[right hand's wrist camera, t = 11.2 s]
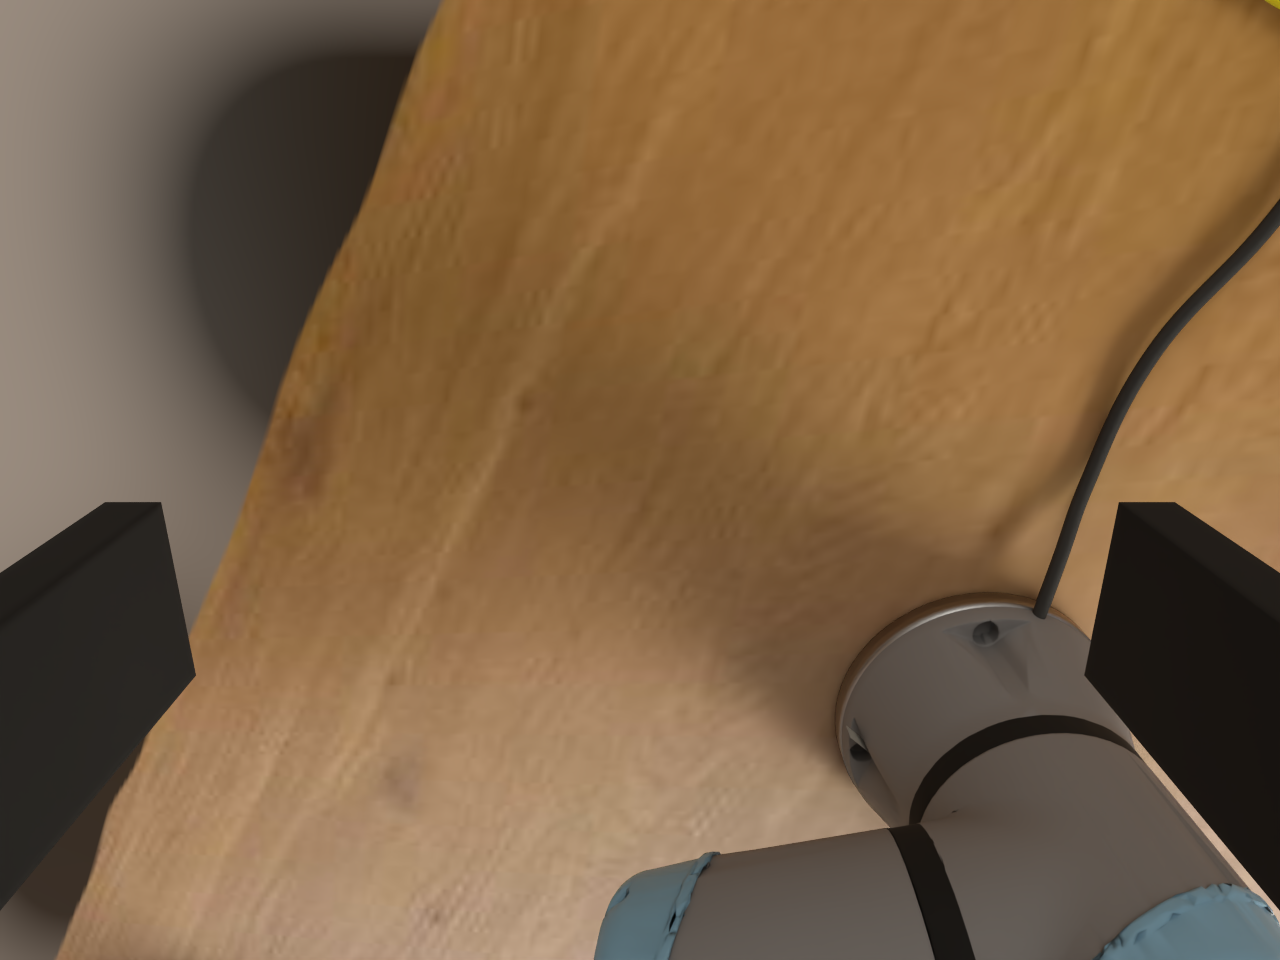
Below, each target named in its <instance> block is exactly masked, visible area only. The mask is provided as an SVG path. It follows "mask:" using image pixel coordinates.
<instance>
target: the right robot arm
mask: <svg viewBox="0 0 1280 960" xmlns="http://www.w3.org/2000/svg"><path fill="white" fill-rule="evenodd" d="M1279 226H1280V199H1279V201H1278V202H1277V203H1276V204H1275V206H1274V207H1273V208H1272V209H1271V211H1270V212H1269V213H1268V215H1267V216H1266V217H1265V218H1264V219H1263V221H1262V222H1261V223H1260V224H1259V226H1258V227H1257V228H1256V229H1255V230H1254V231H1253V233H1252V234H1251V235H1250V236H1249V237H1248V238H1247V239H1246V241H1245V242H1244V243H1243V244H1242V245H1241V246H1240V247H1239V248H1238V249H1237V250H1236V251H1235V252H1234V254H1233V255H1232V256H1231V257H1230V258H1229V259H1228V260H1227V261H1226V262H1225V263H1224V264H1223V265H1222V266H1221V267H1220V268H1219V269H1218V270H1217V271H1216V272H1215V273H1214V274H1213V275H1212V276H1211V277H1210V278H1209V279H1208V280H1207V281H1206V282H1205V283H1204V284H1203V285H1202V286H1201V287H1200V288H1199V289H1198V290H1197V291H1196V292H1195V293H1194V294H1193V295H1192V296H1191V297H1190V298H1189V299H1188V300H1187V301H1186V302H1185V303H1184V304H1183V305H1182V306H1181V307H1180V308H1179V310H1178V311H1177V312H1176V313H1175V314H1174V315H1173V316H1172V317H1171V319H1170V320H1169V321H1168V322H1167V323H1166V324H1165V326H1164V327H1163V328H1162V329H1161V331H1160V332H1159V333H1158V335H1157V336H1156V337H1155V338H1154V340H1153V341H1152V343H1151V344H1150V345H1149V347H1148V348H1147V350H1146V351H1145V352H1144V354H1143V355H1142V357H1141V358H1140V360H1139V361H1138V363H1137V364H1136V366H1135V368H1134V369H1133V371H1132V372H1131V374H1130V376H1129V377H1128V379H1127V381H1126V382H1125V384H1124V386H1123V387H1122V389H1121V391H1120V393H1119V395H1118V397H1117V398H1116V400H1115V402H1114V404H1113V406H1112V408H1111V410H1110V412H1109V414H1108V416H1107V419H1106V421H1105V423H1104V425H1103V427H1102V429H1101V432H1100V434H1099V436H1098V439H1097V441H1096V443H1095V446H1094V448H1093V451H1092V453H1091V455H1090V458H1089V460H1088V463H1087V465H1086V467H1085V470H1084V472H1083V475H1082V477H1081V479H1080V482H1079V484H1078V487H1077V489H1076V491H1075V494H1074V496H1073V499H1072V501H1071V504H1070V507H1069V510H1068V512H1067V515H1066V518H1065V521H1064V524H1063V527H1062V530H1061V533H1060V537H1059V540H1058V542H1057V545H1056V548H1055V551H1054V554H1053V557H1052V560H1051V562H1050V565H1049V568H1048V571H1047V573H1046V576H1045V579H1044V581H1043V584H1042V587H1041V590H1040V592H1039V595H1038V598H1037V600H1033V599H1029V598H1026V597H1022V596H1017V595H1012V594H1004V593H969V594H963V595H957V596H952V597H948V598H944V599H940V600H937V601H934V602H931V603H928V604H926V605H924V606H921V607H919V608H917V609H914V610H913V611H911V612H909V613H907V614H905V615H903V616H902V617H900V618H898V619H897V620H895V621H894V622H892V623H891V624H889V625H888V626H887V627H886V628H884V629H883V630H882V631H880V632H879V633H878V634H877V635H876V636H875V637H874V638H873V639H872V640H871V641H870V642H869V643H868V644H867V645H866V646H865V647H864V648H863V650H862V651H861V652H860V654H859V655H858V656H857V658H856V659H855V660H854V662H853V664H852V665H851V667H850V668H849V670H848V672H847V674H846V676H845V678H844V681H843V683H842V686H841V689H840V692H839V695H838V700H837V704H836V712H835V728H836V737H837V741H838V745H839V748H840V751H841V755H842V758H843V761H844V764H845V766H846V769H847V772H848V774H849V776H850V778H851V780H852V782H853V783H854V785H855V786H856V788H857V789H858V791H859V792H860V794H861V795H862V797H863V798H864V800H865V801H866V802H867V803H868V804H869V805H870V807H871V808H872V809H873V810H874V811H875V812H876V813H877V814H878V815H879V816H880V817H881V818H882V819H883V820H884V821H885V822H886V823H887V825H888V826H889V827H890V828H883V829H877V830H871V831H865V832H859V833H853V834H847V835H841V836H835V837H828V838H822V839H816V840H810V841H804V842H798V843H792V844H786V845H780V846H774V847H768V848H762V849H756V850H749V851H742V852H735V853H728V854H720V852H709V853H705V854H703V855H702V856H701V857H700V858H699V859H695V860H691V861H686V862H682V863H678V864H673V865H669V866H665V867H660V868H656V869H651V870H646V871H643V872H640V873H638V874H636V875H634V876H632V877H631V878H630V879H628V880H627V881H626V882H625V883H623V884H622V885H621V887H620V888H619V889H618V890H617V892H616V893H615V895H614V896H613V898H612V899H611V901H610V904H609V906H608V909H607V911H606V914H605V918H604V919H603V922H602V925H601V928H600V932H599V936H598V941H597V946H596V950H595V956H594V960H1280V926H1279V922H1278V920H1277V918H1276V916H1275V915H1274V914H1273V911H1272V910H1271V908H1270V907H1269V906H1268V905H1267V903H1266V902H1265V901H1264V900H1263V899H1262V898H1261V897H1260V896H1258V895H1257V894H1255V893H1254V892H1252V891H1251V890H1250V889H1249V888H1248V886H1247V885H1246V884H1245V883H1244V882H1243V880H1242V879H1241V878H1240V877H1239V875H1238V874H1237V873H1236V872H1235V871H1234V869H1233V868H1232V867H1231V866H1230V865H1229V863H1228V862H1227V861H1226V860H1225V859H1224V857H1223V856H1222V855H1221V854H1220V852H1219V851H1218V850H1217V849H1216V848H1215V846H1214V845H1213V844H1212V843H1211V842H1210V840H1209V839H1208V838H1207V837H1206V836H1205V834H1204V833H1203V832H1202V831H1201V830H1200V828H1199V827H1198V826H1197V825H1196V823H1195V822H1194V821H1193V820H1192V819H1191V817H1190V816H1189V815H1188V814H1187V813H1186V811H1185V810H1184V809H1183V808H1182V807H1181V805H1180V804H1179V803H1178V802H1177V800H1176V799H1175V798H1174V797H1173V796H1172V794H1171V793H1170V792H1169V791H1168V790H1167V788H1166V787H1165V786H1164V785H1163V784H1162V782H1161V781H1160V780H1159V779H1158V777H1157V776H1156V775H1155V774H1154V773H1153V771H1152V770H1151V769H1150V768H1149V767H1148V766H1147V765H1146V763H1145V762H1144V761H1143V760H1142V758H1141V757H1140V756H1139V755H1138V753H1137V752H1136V751H1135V748H1134V745H1133V741H1132V737H1131V734H1130V731H1131V732H1132V734H1133V735H1134V736H1135V737H1136V738H1137V740H1138V741H1139V742H1140V743H1141V744H1142V746H1143V747H1144V748H1145V749H1146V750H1147V752H1148V753H1149V754H1150V755H1151V756H1152V758H1153V759H1154V760H1155V761H1156V762H1157V764H1158V765H1159V766H1160V767H1161V768H1162V770H1163V771H1164V772H1165V773H1166V774H1167V776H1168V777H1169V778H1170V779H1171V780H1172V782H1173V783H1174V784H1175V785H1176V786H1177V788H1178V789H1179V790H1180V791H1181V792H1182V794H1183V795H1184V796H1185V797H1186V798H1187V800H1188V801H1189V802H1190V803H1191V804H1192V806H1193V807H1194V808H1195V809H1196V810H1197V812H1198V813H1199V814H1200V815H1201V816H1202V818H1203V819H1204V820H1205V821H1206V822H1207V824H1208V825H1209V826H1210V827H1211V828H1212V830H1213V831H1214V832H1215V833H1216V834H1217V836H1218V837H1219V838H1220V839H1221V840H1222V842H1223V843H1224V844H1225V845H1226V846H1227V848H1228V849H1229V850H1230V851H1231V852H1232V854H1233V855H1234V856H1235V857H1236V858H1237V860H1238V861H1239V862H1240V863H1241V865H1242V866H1243V867H1244V868H1245V869H1246V871H1247V872H1248V873H1249V874H1250V875H1251V877H1252V878H1253V879H1254V880H1255V881H1256V883H1257V884H1258V885H1259V886H1260V887H1261V889H1262V890H1263V891H1264V892H1265V893H1266V895H1267V896H1268V897H1269V898H1270V899H1271V901H1272V902H1273V903H1274V904H1275V905H1276V907H1277V908H1278V909H1279V910H1280V573H1279V572H1278V571H1276V570H1275V569H1273V568H1272V567H1270V566H1269V565H1267V564H1266V563H1264V562H1263V561H1261V560H1260V559H1258V558H1257V557H1255V556H1254V555H1252V554H1251V553H1249V552H1248V551H1246V550H1245V549H1243V548H1242V547H1240V546H1239V545H1237V544H1236V543H1234V542H1233V541H1232V540H1230V539H1229V538H1227V537H1226V536H1224V535H1223V534H1221V533H1220V532H1218V531H1217V530H1215V529H1214V528H1212V527H1211V526H1209V525H1208V524H1206V523H1205V522H1203V521H1202V520H1200V519H1199V518H1197V517H1196V516H1194V515H1193V514H1191V513H1190V512H1189V511H1187V510H1186V509H1184V508H1183V507H1181V506H1180V505H1178V504H1177V503H1175V502H1119V505H1118V510H1117V515H1116V520H1115V524H1114V529H1113V534H1112V539H1111V544H1110V549H1109V554H1108V559H1107V564H1106V569H1105V574H1104V579H1103V584H1102V589H1101V594H1100V599H1099V604H1098V609H1097V614H1096V619H1095V624H1094V629H1093V634H1092V639H1091V640H1090V639H1089V638H1088V637H1087V636H1086V635H1085V634H1084V632H1083V631H1082V630H1081V629H1080V628H1079V627H1078V626H1077V625H1076V624H1075V623H1074V622H1073V621H1071V620H1070V619H1069V618H1068V617H1066V616H1065V615H1063V614H1062V613H1061V612H1059V611H1057V610H1055V609H1054V608H1052V607H1050V606H1051V603H1052V600H1053V598H1054V595H1055V592H1056V590H1057V587H1058V584H1059V581H1060V579H1061V576H1062V573H1063V571H1064V568H1065V565H1066V562H1067V560H1068V557H1069V554H1070V551H1071V548H1072V545H1073V542H1074V539H1075V536H1076V533H1077V530H1078V527H1079V524H1080V521H1081V518H1082V515H1083V513H1084V510H1085V507H1086V505H1087V502H1088V500H1089V497H1090V495H1091V492H1092V490H1093V488H1094V485H1095V483H1096V481H1097V478H1098V476H1099V474H1100V471H1101V469H1102V466H1103V464H1104V462H1105V459H1106V457H1107V455H1108V452H1109V450H1110V447H1111V445H1112V443H1113V441H1114V438H1115V436H1116V434H1117V432H1118V429H1119V427H1120V425H1121V423H1122V421H1123V419H1124V417H1125V415H1126V413H1127V411H1128V409H1129V407H1130V405H1131V403H1132V402H1133V400H1134V398H1135V396H1136V394H1137V393H1138V391H1139V389H1140V388H1141V386H1142V384H1143V383H1144V381H1145V379H1146V378H1147V376H1148V375H1149V373H1150V371H1151V370H1152V368H1153V367H1154V365H1155V364H1156V362H1157V361H1158V360H1159V358H1160V357H1161V355H1162V354H1163V353H1164V351H1165V350H1166V348H1167V347H1168V346H1169V344H1170V343H1171V342H1172V341H1173V339H1174V338H1175V337H1176V336H1177V334H1178V333H1179V332H1180V331H1181V330H1182V328H1183V327H1184V326H1185V325H1186V324H1187V323H1188V322H1189V321H1190V319H1191V318H1192V317H1193V316H1194V315H1195V314H1196V313H1197V312H1198V311H1199V310H1200V309H1201V308H1202V307H1203V306H1204V305H1205V304H1206V303H1207V302H1208V301H1209V300H1210V299H1211V298H1212V297H1213V296H1214V295H1215V294H1216V293H1217V292H1218V291H1219V290H1220V289H1221V288H1222V287H1223V286H1224V285H1225V284H1226V283H1227V282H1228V281H1229V280H1230V279H1231V278H1232V277H1233V276H1234V275H1235V274H1236V273H1237V272H1238V271H1239V270H1240V269H1241V268H1242V267H1243V266H1244V265H1245V264H1246V263H1247V262H1248V261H1249V260H1250V259H1251V258H1252V256H1253V255H1254V254H1255V253H1256V252H1257V251H1258V250H1259V249H1260V248H1261V247H1262V246H1263V244H1264V243H1265V242H1266V241H1267V240H1268V239H1269V238H1270V236H1271V235H1272V234H1273V233H1274V232H1275V230H1276V229H1277V228H1278V227H1279ZM195 676H196V673H195V668H194V663H193V658H192V653H191V648H190V643H189V639H188V634H187V629H186V624H185V619H184V614H183V609H182V604H181V599H180V594H179V589H178V584H177V579H176V574H175V569H174V564H173V559H172V554H171V549H170V544H169V539H168V534H167V529H166V524H165V520H164V515H163V510H162V505H161V502H105V503H103V504H102V505H100V506H99V507H97V508H96V509H94V510H93V511H91V512H90V513H89V514H87V515H86V516H84V517H83V518H81V519H80V520H78V521H77V522H75V523H74V524H72V525H71V526H69V527H68V528H66V529H65V530H63V531H62V532H60V533H59V534H57V535H56V536H54V537H53V538H52V539H50V540H48V541H47V542H46V543H44V544H43V545H41V546H40V547H38V548H37V549H35V550H34V551H32V552H31V553H29V554H28V555H26V556H25V557H23V558H22V559H20V560H19V561H17V562H16V563H14V564H13V565H11V566H10V567H8V568H7V569H6V570H4V571H3V572H1V573H0V910H1V909H2V908H3V906H4V905H5V904H6V903H7V902H8V901H9V899H10V898H11V897H12V896H13V894H14V893H15V892H16V891H17V890H18V889H19V887H20V886H21V885H22V884H23V883H24V881H25V880H26V879H27V878H28V877H29V875H30V874H31V873H32V872H33V871H34V869H35V868H36V867H37V866H38V865H39V863H40V862H41V861H42V860H43V858H44V857H45V856H46V855H47V854H48V852H49V851H50V850H51V849H52V848H53V846H54V845H55V844H56V843H57V842H58V840H59V839H60V838H61V837H62V836H63V834H64V833H65V832H66V831H67V830H68V828H69V827H70V826H71V825H72V824H73V822H74V821H75V820H76V819H77V818H78V816H79V815H80V814H81V813H82V812H83V810H84V809H85V808H86V807H87V806H88V804H89V803H90V802H91V801H92V800H93V798H94V797H95V796H96V795H97V794H98V792H99V791H100V790H101V789H102V787H103V786H104V785H105V784H106V783H107V782H108V780H109V779H110V778H111V777H112V776H113V774H114V773H115V772H116V771H117V770H118V768H119V767H120V766H121V765H122V764H123V762H124V761H125V760H126V759H127V758H128V756H129V755H130V754H131V753H132V752H133V750H134V749H135V748H136V747H137V746H138V744H139V743H140V742H141V741H142V739H143V738H144V737H145V736H146V735H147V734H148V732H149V731H150V730H151V729H152V728H153V726H154V725H155V724H156V723H157V721H158V720H159V719H160V718H161V717H162V715H163V714H164V713H165V712H166V711H167V709H168V708H169V707H170V706H171V705H172V703H173V702H174V701H175V700H176V699H177V697H178V696H179V695H180V694H181V693H182V691H183V690H184V689H185V688H186V687H187V685H188V684H189V683H190V682H191V681H192V679H193V678H194V677H195Z"/></svg>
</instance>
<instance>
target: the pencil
mask: <svg viewBox="0 0 1280 960" xmlns="http://www.w3.org/2000/svg"><path fill="white" fill-rule="evenodd" d="M1265 1H1266V2H1268V3H1269V4H1271V5H1273V6H1274V7H1276V8H1278V9H1279V10H1280V0H1265Z"/></svg>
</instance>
